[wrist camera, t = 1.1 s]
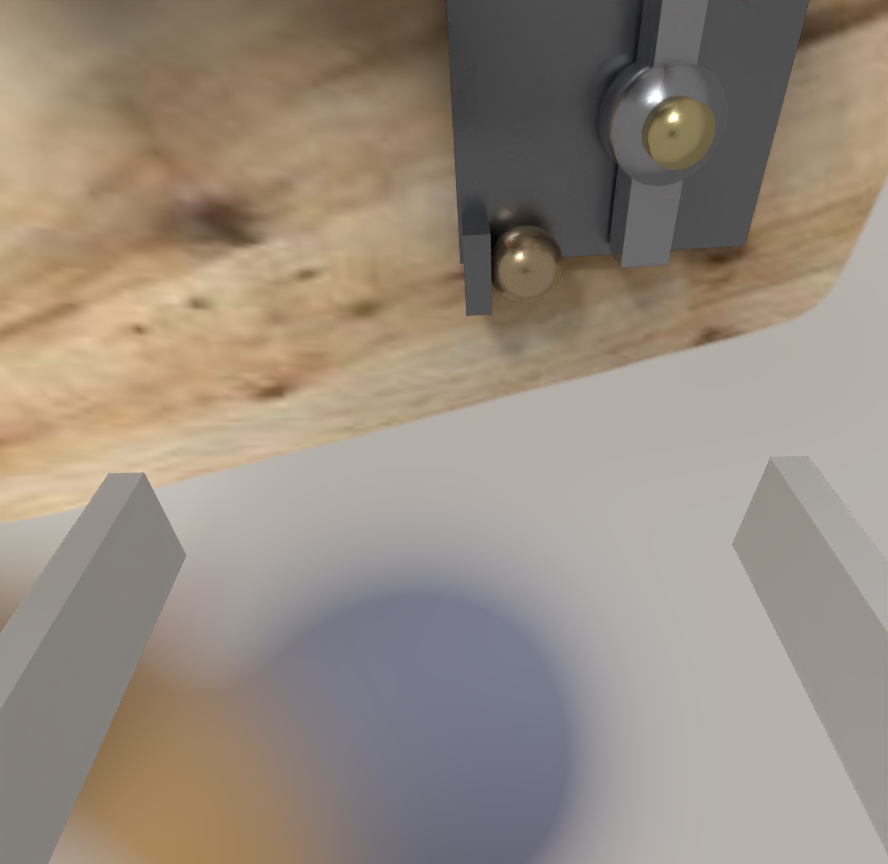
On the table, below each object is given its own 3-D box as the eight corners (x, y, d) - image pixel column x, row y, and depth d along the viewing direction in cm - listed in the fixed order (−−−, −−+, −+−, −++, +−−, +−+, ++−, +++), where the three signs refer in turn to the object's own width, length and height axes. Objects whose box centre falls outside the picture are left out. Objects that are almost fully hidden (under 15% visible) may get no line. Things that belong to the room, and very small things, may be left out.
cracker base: (430, -310, 20) (422, -413, 15) (925, -367, 20) (1099, -497, 14) (461, 283, 34) (463, 336, 29) (751, 265, 34) (807, 316, 28)
